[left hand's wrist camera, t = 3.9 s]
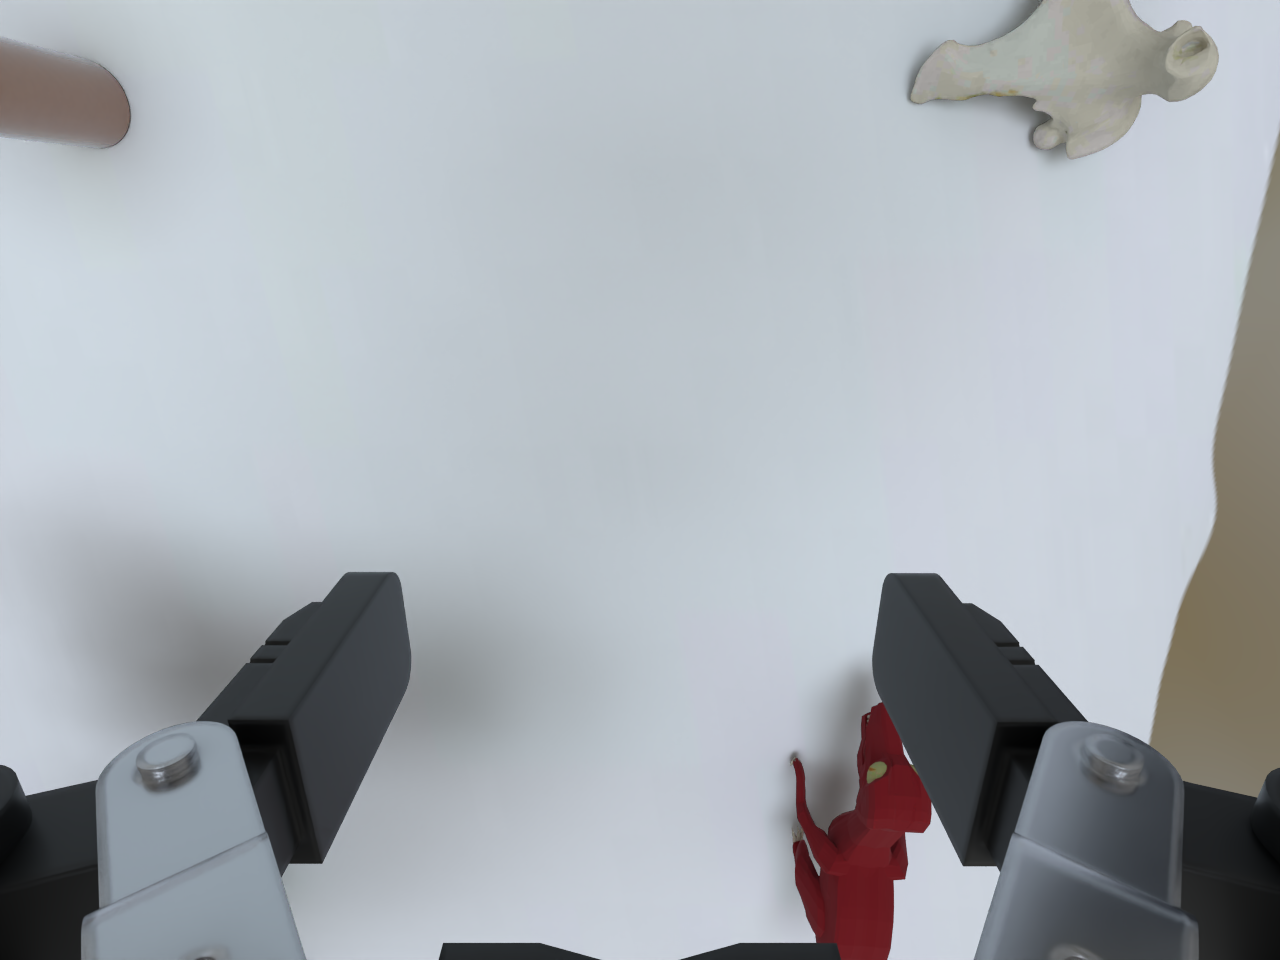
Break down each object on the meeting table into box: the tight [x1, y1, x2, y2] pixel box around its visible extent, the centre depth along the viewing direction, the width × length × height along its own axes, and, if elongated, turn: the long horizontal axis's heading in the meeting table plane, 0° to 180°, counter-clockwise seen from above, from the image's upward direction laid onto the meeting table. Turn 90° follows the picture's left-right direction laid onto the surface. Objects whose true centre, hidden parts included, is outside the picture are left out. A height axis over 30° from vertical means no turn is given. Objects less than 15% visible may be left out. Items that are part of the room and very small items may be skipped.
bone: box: [911, 0, 1219, 159], centre depth 32 cm, size 10×6×10 cm
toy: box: [790, 702, 931, 960], centre depth 44 cm, size 7×25×15 cm
